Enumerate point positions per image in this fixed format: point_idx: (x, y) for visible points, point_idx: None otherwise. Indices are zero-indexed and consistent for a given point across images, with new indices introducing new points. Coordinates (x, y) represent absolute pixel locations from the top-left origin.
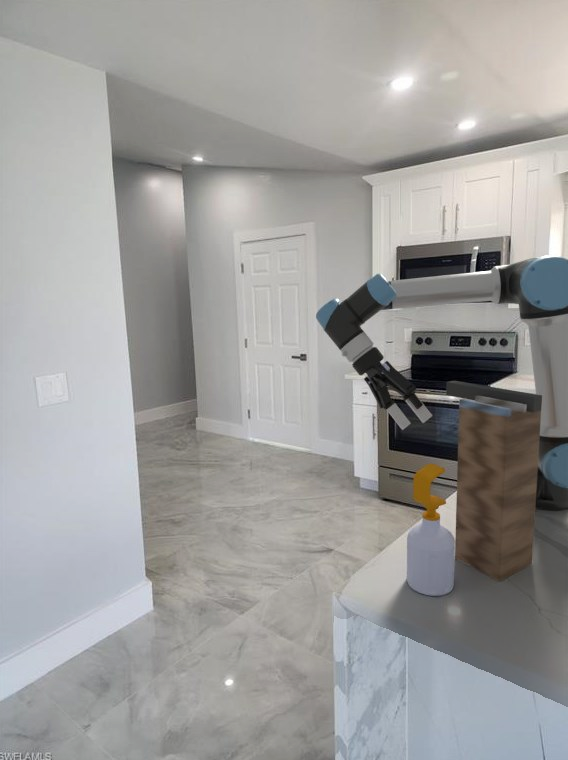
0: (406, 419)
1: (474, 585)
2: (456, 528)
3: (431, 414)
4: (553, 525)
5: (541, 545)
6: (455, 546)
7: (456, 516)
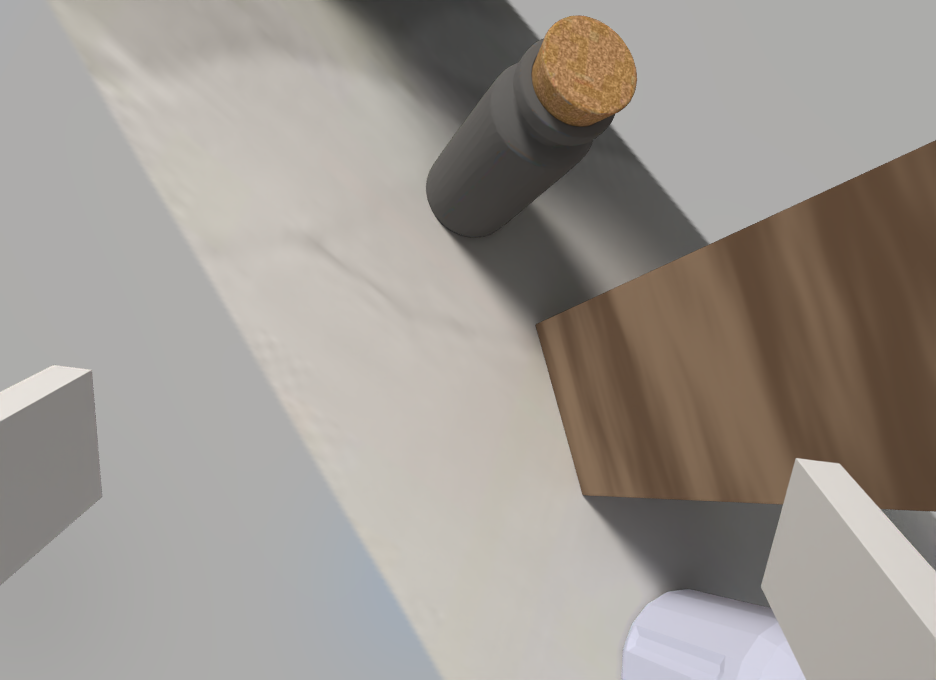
0: (41, 417)
1: (715, 532)
2: (652, 497)
3: (848, 475)
4: (509, 32)
5: (598, 180)
6: (606, 495)
7: (684, 498)
